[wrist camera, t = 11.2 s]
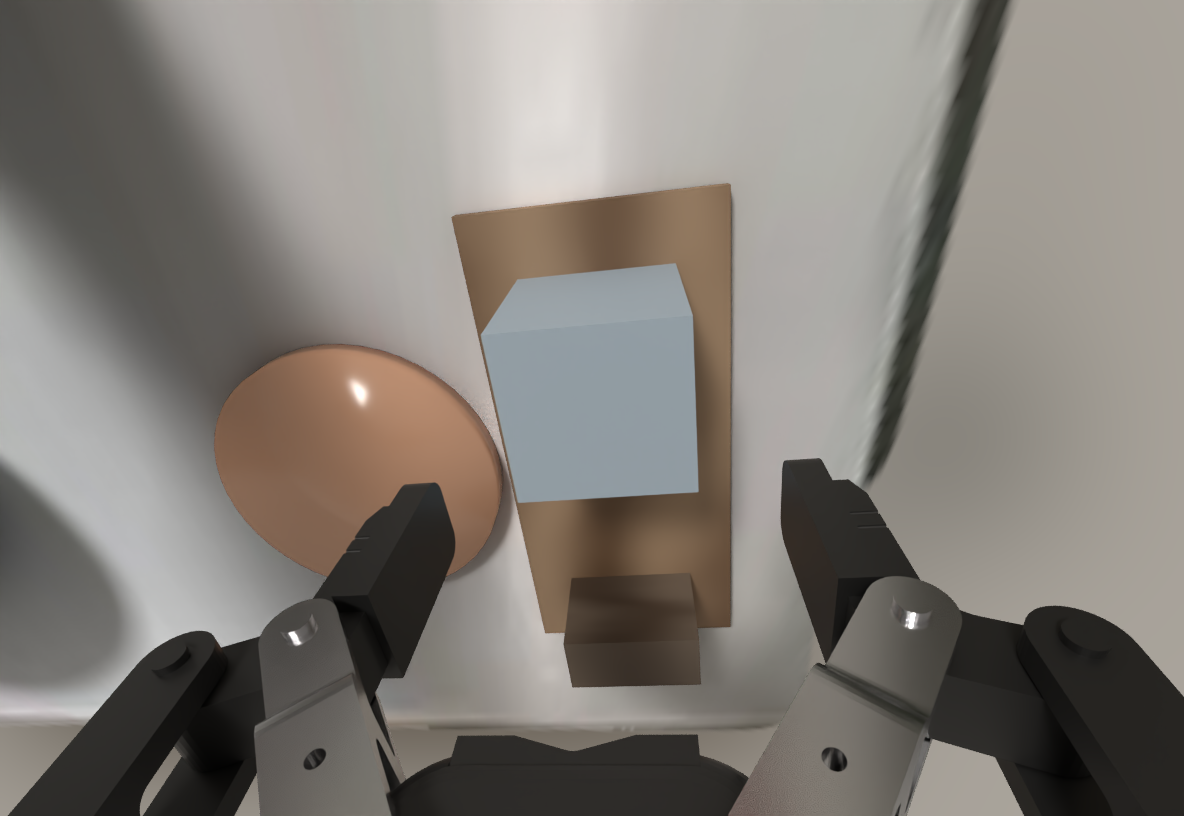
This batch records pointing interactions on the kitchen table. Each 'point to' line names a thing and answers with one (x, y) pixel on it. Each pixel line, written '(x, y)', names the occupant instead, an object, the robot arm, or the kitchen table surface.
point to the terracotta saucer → (351, 450)
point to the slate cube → (596, 384)
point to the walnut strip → (633, 523)
